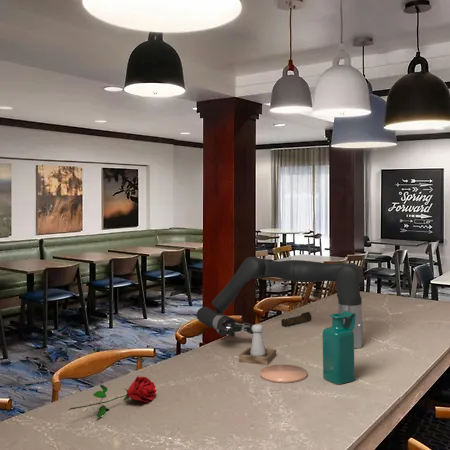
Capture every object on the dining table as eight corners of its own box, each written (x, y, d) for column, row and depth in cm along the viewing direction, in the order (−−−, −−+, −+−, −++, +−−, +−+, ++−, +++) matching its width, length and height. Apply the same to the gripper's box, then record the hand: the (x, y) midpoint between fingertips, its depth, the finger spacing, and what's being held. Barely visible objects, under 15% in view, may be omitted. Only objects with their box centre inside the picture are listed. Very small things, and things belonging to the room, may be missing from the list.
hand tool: (286, 328, 242) (286, 318, 242) (280, 326, 245) (280, 316, 245) (315, 321, 253) (315, 312, 253) (309, 320, 256) (309, 311, 256)
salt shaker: (249, 356, 199) (248, 323, 198) (264, 356, 199) (263, 322, 199) (251, 361, 193) (250, 327, 192) (266, 360, 193) (266, 326, 193)
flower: (75, 387, 139) (160, 367, 162) (58, 396, 145) (143, 376, 167) (83, 421, 137) (168, 396, 159) (65, 429, 142) (150, 404, 164)
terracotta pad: (311, 369, 182) (311, 367, 182) (300, 385, 167) (300, 382, 167) (268, 365, 188) (268, 362, 188) (253, 379, 173) (253, 377, 173)
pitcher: (337, 385, 166) (336, 318, 165) (320, 377, 174) (319, 313, 173) (360, 380, 171) (359, 314, 170) (343, 372, 178) (342, 309, 177)
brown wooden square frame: (276, 355, 199) (276, 349, 199) (267, 364, 189) (267, 357, 189) (249, 353, 203) (249, 347, 203) (239, 361, 193) (239, 355, 193)
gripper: (209, 317, 216) (227, 325, 202) (239, 313, 223) (258, 321, 209) (209, 335, 217) (227, 344, 202) (239, 330, 223) (259, 339, 209)
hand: (243, 332), depth 205 cm, fingers open, 8 cm apart
